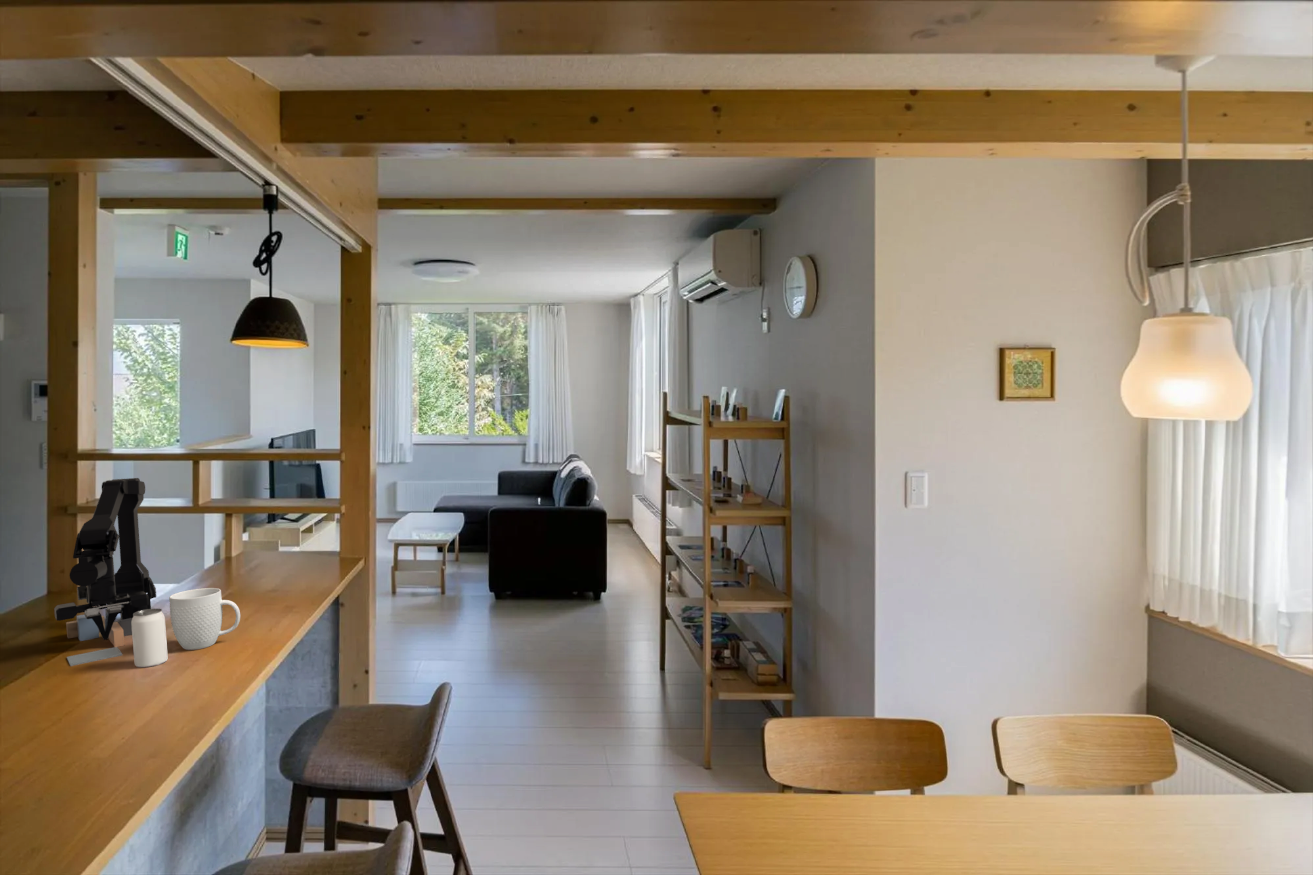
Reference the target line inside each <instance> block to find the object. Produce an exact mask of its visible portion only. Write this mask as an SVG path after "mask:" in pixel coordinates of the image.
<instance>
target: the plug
mask: <svg viewBox="0 0 1313 875" xmlns="http://www.w3.org/2000/svg"><path fill="white" fill-rule="evenodd" d="M76 621H77V627H78V637H77V638H78V640H79V642H82V641H83V642H84V641H88V640H89V641H90V640H94V639H98V638H100V633H99V629H98V627H97V625H96V624H95V622H94V621H93V620H92V619H86V617H85V615H84V614H79V615H76Z"/></svg>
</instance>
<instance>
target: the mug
mask: <svg viewBox="0 0 1313 875" xmlns="http://www.w3.org/2000/svg"><path fill="white" fill-rule="evenodd" d="M168 599H169V615H170V621H171V628H172V630H173V631H172V632H173V633H174V636H175V638H176V640H177V643H178V644H179V645H180V647H182V649H184V650H186V651H194V650H200V649H201V650H202V649H206V648H208V647H211V646H213V645H215V643H216V642H217V640H218V639H219V636H223V635H226V634H229V633H231V632H233V631H234V630H236V629H237V628H238V626H239V624H240V621H241V612H240V611H241V610H240V608H239V606H238V605H237V604H236V602H234V601H232V600H228V599H222V590H221V589H220V588H218V587H217V588H216V587H206V588H205V587H204V588H196V589H188V590H183V591H180V592H176V593H173V594H171V595H170V596H169V598H168ZM224 605H227V606H228V605H229V606H230V607H231V608H232V609H234V610H233V611H234V613H235V622H234V623H233V625H232V626H231V627H229V628H228V629H224V630H221V628H222V624H223V606H224Z"/></svg>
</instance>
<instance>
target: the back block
mask: <svg viewBox="0 0 1313 875" xmlns="http://www.w3.org/2000/svg"><path fill="white" fill-rule="evenodd" d="M101 616H102V620H103V625H104V629H105V618H106V617H105V616H104V615H101ZM65 625H66V626H65V627H66V638H67V639H69V640H70V639H73V638H78V627H77V620H73V621H72V620H71V621H67V622H66V621H65ZM99 634H101V633H100V631H99Z"/></svg>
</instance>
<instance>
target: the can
mask: <svg viewBox="0 0 1313 875" xmlns="http://www.w3.org/2000/svg"><path fill="white" fill-rule="evenodd" d="M162 611H163V609H162V608H151V609H147V610H142V611H138V612H135V613H133V618H132V621H131V624H132V635H131V636H132V647H133V650H132V651H133V659H134V660H133V661H134V666H136V667H137V668H140V669H141V668H144V669H145V668H151V667H156V666H160V665H163V664H164V663H166V662H167V660H168V658H169V655H168V644H167V631H166V630H167V629H166V617H165V614H164V613H163V612H162Z"/></svg>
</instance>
